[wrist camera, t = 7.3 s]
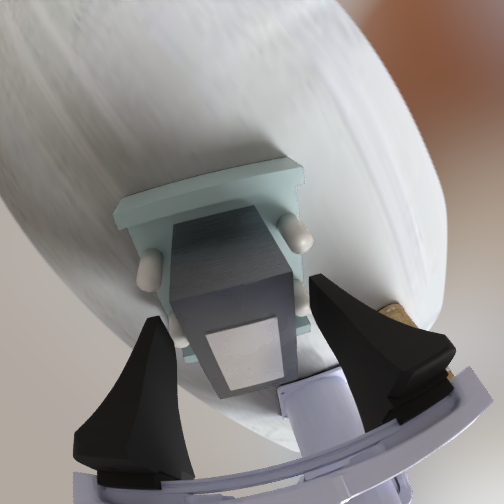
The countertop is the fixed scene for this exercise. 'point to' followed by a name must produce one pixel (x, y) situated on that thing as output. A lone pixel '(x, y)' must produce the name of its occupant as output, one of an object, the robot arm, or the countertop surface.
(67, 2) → the countertop surface
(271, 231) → the tray
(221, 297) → the dark grey block
